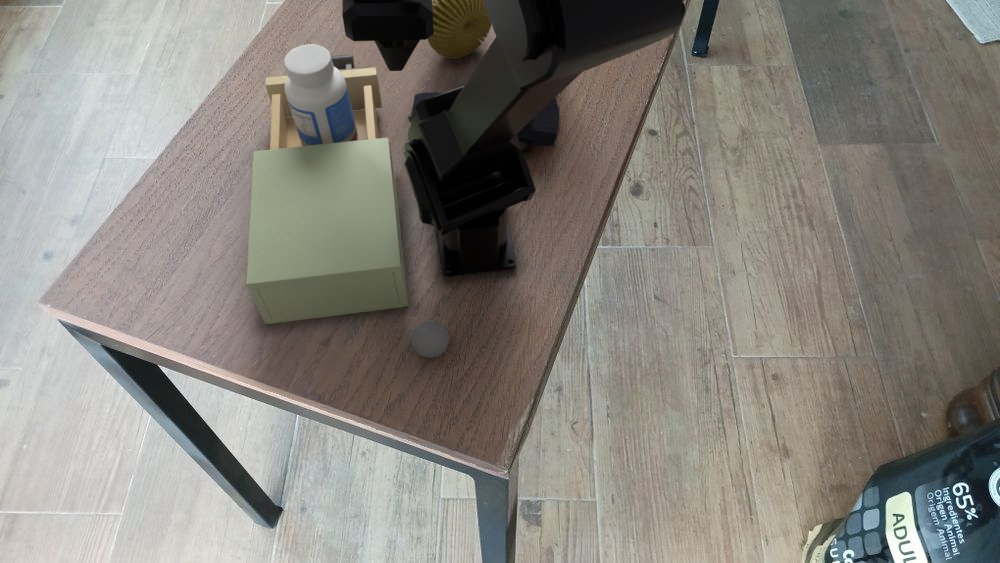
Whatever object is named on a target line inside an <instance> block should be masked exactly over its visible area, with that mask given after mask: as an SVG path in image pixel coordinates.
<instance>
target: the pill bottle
mask: <svg viewBox="0 0 1000 563" xmlns="http://www.w3.org/2000/svg"><path fill="white" fill-rule="evenodd" d="M331 56H332V54H331V53H330V51H329V50H328V49H327V48H326V47H324V46H322V45H319V44H313V43H307V44H302V45H299V46H296V47H294V48H293V49H291V50H289V51H288V52H287V53H286V54H285V57H284V60H283V64H284V68H285V71H286V76H288V77H287V79H286V82H285V94H286V97H287V100H288V103H289V107H290V110H291V113H292V116H291V117H293V119H294V122H295V125H296V128H297V131H298V134H299V137H300V140H301V143H302V146H310V145H319V144H329V143H339V142H349V141H357V137H358V135H357V129H356V124H355V119H354V115H353V111H354V110H352V107H351V102H350V98H349V94H348V89H347V85H346V82H345V78H344V76H343V74H342V73H341V72H340V71H341V70H338V69H337V68H336V67H334V66H333V62H332V59H331Z"/></svg>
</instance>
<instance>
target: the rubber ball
mask: <svg viewBox="0 0 1000 563" xmlns="http://www.w3.org/2000/svg"><path fill="white" fill-rule="evenodd" d="M410 340H411V345H412V348H413V350H414V351H415V352H416V353H417V354H418V355H419V356H421V357H423V358H429V359H430V358H436V357H439V356H441V355H442V354H443V353H445V351H446V350H447V349H448V346H449V342H450V336H449V332H448V330H447V328H446V327H445V326H444V325H443V324H442V323H440V321H436V320H434V319H433V320H432V319H428V320H423V321H421V322H420V323H418V324H417V325H416V326H415V327H414V328H413V330H412V332H411V338H410Z"/></svg>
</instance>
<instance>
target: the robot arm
mask: <svg viewBox="0 0 1000 563" xmlns="http://www.w3.org/2000/svg"><path fill="white" fill-rule="evenodd" d="M341 1H342V3H341V4H342V5H341V6H342V7H341V8H342V11H341V16H342V21H343V22H342V23H343V30H344V34H345V37H346V38H348V39H350V40H351V41H352V42H374V43H375V45H376V47H377V49H378V51H379V53H380V55H381V57H382V60H383V61H384V64H385V65H386V67H387V70H388V71H390V72H401V71H403V70H404V68H405V67H406V65H407V63H408V61H409V59H410V58H411V57H412V54H413V53H414V51H415V49H416V48H417V46H418V44H419V43H420V41H423V40H424V41H425V40H428V38H429V37H430V36H432V35H433V34H434V30H433V6H432V5H433V0H341ZM484 2H485V5H484V6H485V8H486V11H487V13H488V15H489V18H490V20H491V27H492V29H493V32H494V34H495V38H494V39H493V41H492V42H491V44H490V45H489V47H488V49H486V52H485V53H484V54H483V56H482V57H481V59H480V61H479V62H478V64H477V65H476V67H475V69H474V70H473V71H472V73H471V75H470V76H469V78H468V79H467V81H466V82H465V83H466V84H465V83H464V84H465V85H464V86H461V85H460V86H461V87H459V86H458V87H459V88H457V87H455V88H456V89H455V88H453V89H450V90H447V91H445V92H444V91H443V92H444V93H441V94H438V95H435V96H433V97H430V98H427V99H424V100H421V101H420V102H419V103H418V104H417V105H416V106H415V108H414V114H413V115H412V116H411V115H409V116H407V120H408V122H409V123H410V127H409V128H408V132H407V139H408V142H405V143H404V151H403V155H404V159H405V162H404V164H403V165H404V169H405V172H406V174H407V178H408V180H409V183H410V186H411V189H412V192H413V195H414V198H415V201H416V204H417V210H418V215H419V216H418V217H419V219H420V221H421V223H422V224H425V225H429V226H431V227H434V228H435V230H436V231H437V240H438V248H439V253H440V262H441V263H440V264H441V269H442V274H443V276H445V277H456V276H466V275H473V274H482V273H491V272H499V271H508V270H513V269H515V268H516V266H517V258H516V253H515V249H514V244H513V239H512V235H511V229H510V225H509V208H510V207H513V206H515V205H518V204H521V203H523V202H525V203H526V202H528V201H530V200H532V199H533V197H534V195H535V193H536V192H537V191H536V186H535V183H534V180H533V177H532V174H531V172H530V168H529V166H528V163H527V159H526V156H525V153H523V151H522V148H521V144H520V142H519V139H518V136H517V133H518V132H519V131H520V130H521V129H522V128H523V127H525V126H526V125H527V124H528V123H529V122H530V121H531V120H532V119H533V118H534V117H535V116H536V115H537V114H538V113H539V112H540V111H542V110H543V109H544V108H545V107H546V106H547V105H548V104H549V103H550V102H551V101H552V100H553V99H554V98H555V97H556V98H557V97H558V95H560V94H561V93H562V92H563V91H564V90H565V89H566V88H567V87H568V86H569V85H570V84H572V83H573V82H574V81H575V79H577V78H578V77H579V76H580V75H581V74H582V73H584V72H585V71H588V70H590V69H593V68H596V67H598V66H600V65H603V64H606V63H608V62H611V61H614V60H615V59H619V58H621V57H624V56H626V55H629V54H631V53H634V52H636V51H639V50H641V49H643V48H646V47H648V46H650V45H653V44H655V43H658V42H661V41H663V40H664V39H667V38H669V37H671V36H672V35H673V34H675V32H676V31H677V30H678V28H679V27H680V25H681V24H682V22H683V20H684V17H685V16H686V15H685V14H686V11H687V5H686V3H684V0H484ZM448 270H449V271H448Z"/></svg>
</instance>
